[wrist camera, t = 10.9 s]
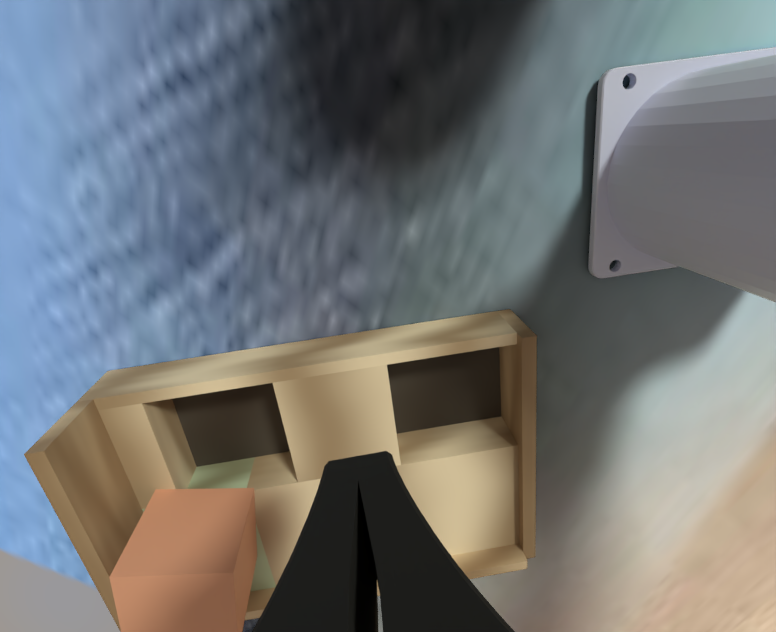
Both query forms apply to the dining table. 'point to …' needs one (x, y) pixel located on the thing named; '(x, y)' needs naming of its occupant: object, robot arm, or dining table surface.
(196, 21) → the dining table surface
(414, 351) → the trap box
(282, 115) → the dining table surface
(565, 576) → the dining table surface
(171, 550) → the block
